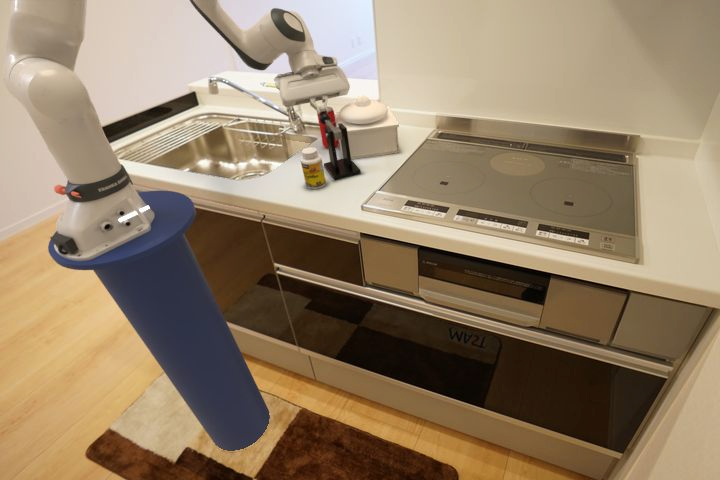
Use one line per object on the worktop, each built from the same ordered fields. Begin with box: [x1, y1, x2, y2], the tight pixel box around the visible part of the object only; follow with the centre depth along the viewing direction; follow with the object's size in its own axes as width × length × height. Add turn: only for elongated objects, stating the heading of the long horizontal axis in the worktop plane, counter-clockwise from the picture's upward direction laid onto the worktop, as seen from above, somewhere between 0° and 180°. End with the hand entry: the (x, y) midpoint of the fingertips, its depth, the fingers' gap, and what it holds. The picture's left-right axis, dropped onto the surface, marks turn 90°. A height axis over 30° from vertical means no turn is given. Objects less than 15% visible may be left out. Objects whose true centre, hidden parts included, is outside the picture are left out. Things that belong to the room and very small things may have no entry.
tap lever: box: [319, 113, 342, 141], centre depth 117 cm, size 13×3×3 cm, turn 25°
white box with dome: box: [334, 94, 400, 160], centre depth 128 cm, size 18×18×16 cm
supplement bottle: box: [300, 146, 327, 190], centre depth 111 cm, size 6×6×10 cm
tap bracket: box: [323, 123, 362, 181], centre depth 117 cm, size 10×8×13 cm
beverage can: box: [316, 106, 340, 150], centre depth 131 cm, size 5×5×12 cm
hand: (323, 113), depth 120 cm, fingers closed, pressing on tap lever
